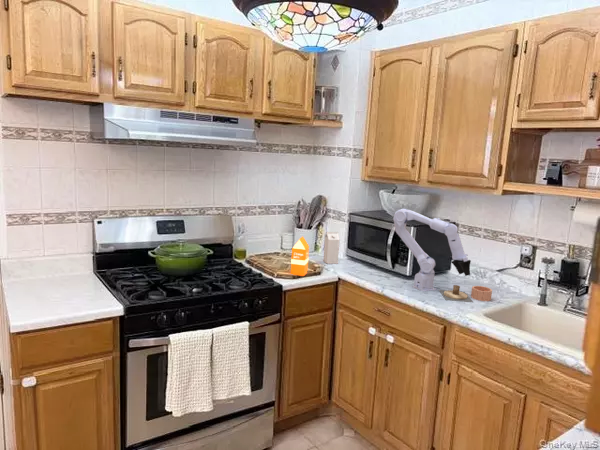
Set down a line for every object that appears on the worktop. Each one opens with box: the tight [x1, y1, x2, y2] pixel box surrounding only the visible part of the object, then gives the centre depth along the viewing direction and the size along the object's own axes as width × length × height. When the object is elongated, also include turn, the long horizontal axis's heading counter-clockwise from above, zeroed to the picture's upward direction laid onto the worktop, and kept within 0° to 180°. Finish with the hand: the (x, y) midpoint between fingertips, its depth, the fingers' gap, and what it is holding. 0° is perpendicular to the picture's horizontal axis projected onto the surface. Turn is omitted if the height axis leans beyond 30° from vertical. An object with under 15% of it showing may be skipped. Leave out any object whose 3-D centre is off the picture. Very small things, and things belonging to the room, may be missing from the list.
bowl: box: [470, 285, 493, 302], centre depth 218 cm, size 9×9×5 cm
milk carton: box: [323, 231, 341, 265], centre depth 271 cm, size 7×7×19 cm
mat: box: [438, 289, 474, 303], centre depth 219 cm, size 13×16×1 cm
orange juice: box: [290, 236, 310, 277], centre depth 244 cm, size 8×9×20 cm
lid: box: [444, 284, 469, 300], centre depth 219 cm, size 11×11×5 cm
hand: (464, 274), depth 220 cm, fingers open, 7 cm apart
